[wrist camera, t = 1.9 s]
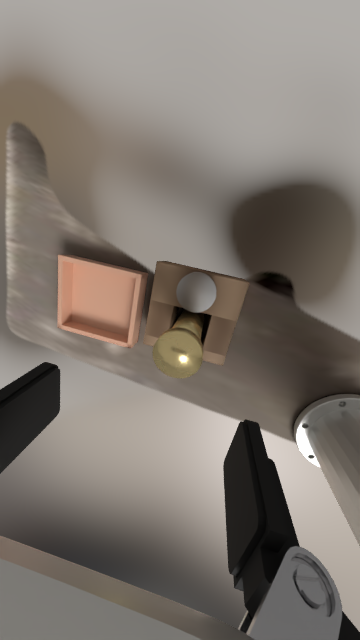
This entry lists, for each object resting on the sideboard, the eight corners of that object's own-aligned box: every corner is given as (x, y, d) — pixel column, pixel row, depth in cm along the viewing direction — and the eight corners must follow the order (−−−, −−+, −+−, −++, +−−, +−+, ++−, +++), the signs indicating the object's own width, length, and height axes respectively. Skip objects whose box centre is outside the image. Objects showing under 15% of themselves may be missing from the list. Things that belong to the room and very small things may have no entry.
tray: (148, 273, 26) (141, 274, 24) (137, 341, 29) (130, 348, 27) (72, 255, 27) (58, 254, 25) (70, 322, 30) (57, 327, 28)
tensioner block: (244, 279, 24) (252, 285, 19) (221, 351, 27) (223, 373, 22) (165, 261, 25) (151, 261, 20) (152, 332, 28) (137, 349, 23)
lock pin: (211, 307, 26) (208, 340, 16) (203, 336, 27) (195, 384, 17) (180, 299, 26) (157, 326, 16) (174, 328, 28) (148, 370, 17)
